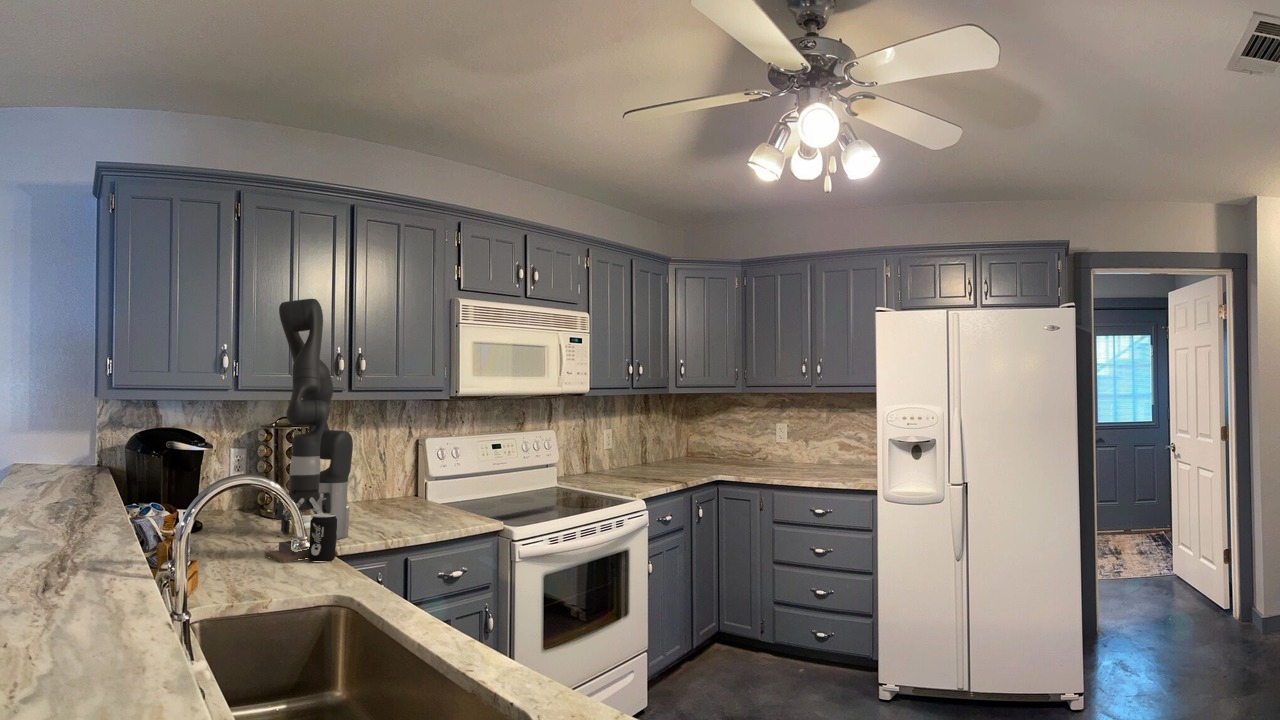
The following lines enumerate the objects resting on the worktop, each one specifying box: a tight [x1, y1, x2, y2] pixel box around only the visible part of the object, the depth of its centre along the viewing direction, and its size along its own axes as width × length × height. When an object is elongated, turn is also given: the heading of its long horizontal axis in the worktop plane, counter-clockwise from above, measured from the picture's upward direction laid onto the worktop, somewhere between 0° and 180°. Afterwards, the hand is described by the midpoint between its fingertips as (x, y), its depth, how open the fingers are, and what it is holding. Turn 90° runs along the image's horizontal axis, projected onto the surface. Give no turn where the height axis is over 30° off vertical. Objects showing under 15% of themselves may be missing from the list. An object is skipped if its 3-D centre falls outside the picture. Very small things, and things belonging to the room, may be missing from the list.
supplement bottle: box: [290, 514, 312, 541], centre depth 192 cm, size 5×5×10 cm
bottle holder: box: [264, 540, 309, 563], centre depth 191 cm, size 14×11×4 cm
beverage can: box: [308, 513, 338, 562], centre depth 186 cm, size 7×7×12 cm
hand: (301, 532), depth 192 cm, fingers open, 8 cm apart
